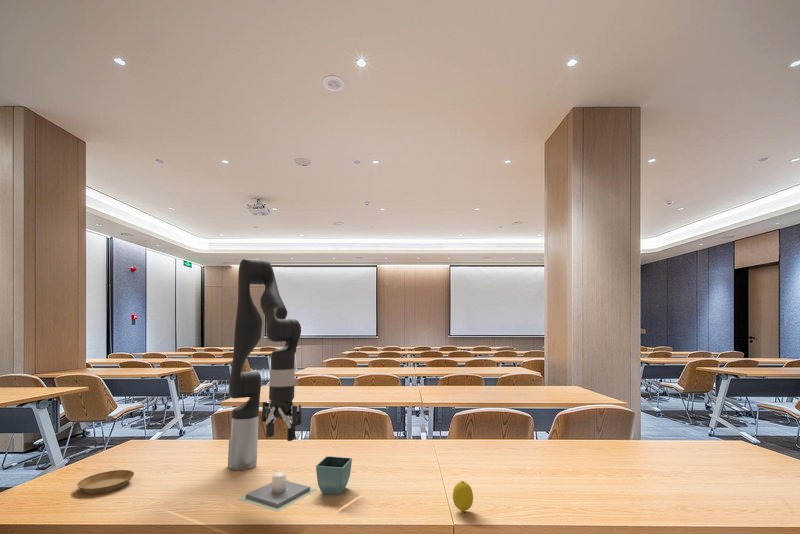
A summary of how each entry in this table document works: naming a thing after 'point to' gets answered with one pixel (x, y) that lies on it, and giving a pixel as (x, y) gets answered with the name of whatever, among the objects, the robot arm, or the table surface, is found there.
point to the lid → (278, 491)
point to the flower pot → (333, 474)
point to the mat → (276, 507)
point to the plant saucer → (105, 481)
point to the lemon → (462, 496)
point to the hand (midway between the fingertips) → (280, 438)
